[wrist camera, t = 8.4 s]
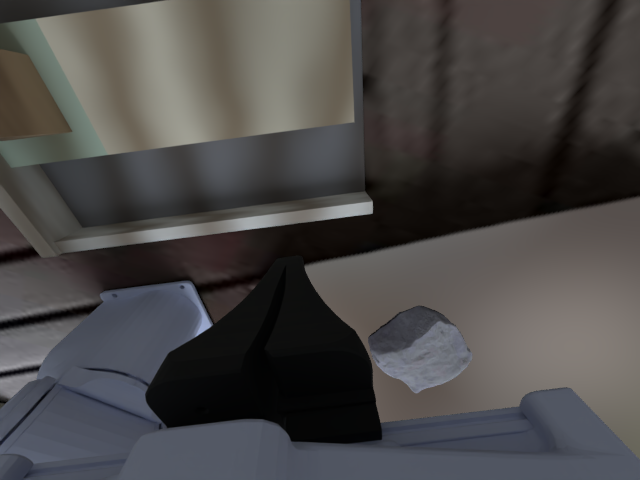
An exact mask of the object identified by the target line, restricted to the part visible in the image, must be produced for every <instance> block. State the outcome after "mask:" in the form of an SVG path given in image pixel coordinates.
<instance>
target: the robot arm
mask: <svg viewBox="0 0 640 480" xmlns="http://www.w3.org/2000/svg"><path fill="white" fill-rule="evenodd" d="M182 285H183V286H184V287H183V286H182ZM100 297H101V299H102V300H103V301H104V302H103V303H102V304H101V305H100V306H99V307H98V308H96V309H95V310H94V311H93V312H92V313H91V314H90V315H89V316H88V317H87V318H86V319H85V320H83V321H82V322H81V323H80V324H79V325H78V326H77V327H76V328H75V329H74V330H73V331H71V332H70V333H69V334H68V335H67V336H66V337H65V338H64V339H63V340H62V341H61V342H60V343H58V344H57V345H56V346H55V347H54V348H53V349H52V350H51V351H50V353H49V354H48V355H47V357H46V358H45V360H44V361H43V363H42V365H41V367H40V370H39V372H38V375H37V380H34V381H31V382H29V383H27V384H26V385H25V386H24V387H23V388H22V389H21V390H20V391H19V392H18V393H17V394H15V395H14V396H13V397H12V398H11V399H10V400H9V401H8V402H7V403H6V404H5V405H4V406H3V407H2V408H1V409H0V480H640V459H639V458H638V457H637V456H636V455H635V454H634V453H633V452H632V451H631V450H630V449H629V448H628V447H627V446H626V445H625V444H624V443H623V442H622V441H621V440H620V439H619V438H618V437H617V436H616V435H615V434H614V432H612V430H611V429H609V427H608V426H607V425H606V424H605V423H604V422H603V421H602V420H601V419H600V418H599V417H598V416H597V415H596V414H595V413H594V412H593V411H592V410H591V409H590V408H589V407H588V406H587V405H586V403H584V401H582V399H581V398H580V397H579V396H578V395H577V394H576V393H575V392H574V391H573V390H572V389H571V388H567V387H566V388H557V389H549V390H540V391H534V392H530V393H528V394H526V395H525V396H524V397H523V398H522V400H521V403H520V406H519V407H511V408H503V409H495V410H487V411H478V412H469V413H460V414H452V415H443V416H435V417H427V418H419V419H410V420H401V421H393V422H384V423H380V419H379V415H378V411H377V407H376V398H375V394H374V390H373V374H372V373H373V370H372V363H371V360H370V358H369V355H368V353H367V351H366V349H365V347H364V345H363V343H362V341H361V340H360V338H359V336H358V335H357V333H356V331H355V330H354V329H352V328H351V327H350V326H348V325H347V324H346V323H345V322H343V321H342V320H341V319H340V318H339V317H338V316H337V315H336V314H335V313H334V312H333V311H332V310H331V309H330V308H329V307H328V306H327V305H326V304H325V303H324V301H323V300H322V299H321V297H320V296H319V295H318V293H317V292H316V290H315V289H314V287H313V285H312V284H311V282H310V280H309V278H308V276H307V274H306V272H305V268H304V262H303V257H301V256H293V257H285V258H278V259H277V260H276V261H275V262H274V264H273V265H272V266H271V268H270V269H269V271H268V272H267V273H266V275H265V276H264V277H263V278H262V280H261V281H260V282H259V283H258V285H257V286H256V287H255V288H254V289H253V290H252V291H251V293H250V294H249V295H248V296H247V297H246V298H245V299H244V300H243V301H242V302H241V303H240V304H238V305H237V306H236V307H235V308H234V309H233V310H232V311H230V312H229V313H228V314H227V315H225V316H224V317H223V318H222V319H220V320H219V321H218V322H217V323H215V324H214V325H213V323H212V321H211V319H210V317H209V315H208V313H207V311H206V309H205V307H204V305H203V303H202V301H201V299H200V297H199V295H198V293H197V291H196V289H195V287H194V285H193V283H192V282H191V281H180V282H172V283H164V284H156V285H148V286H140V287H132V288H124V289H116V290H108V291H103V292H102V293H101V294H100Z"/></svg>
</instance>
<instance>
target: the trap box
mask: <svg viewBox="0 0 640 480" xmlns="http://www.w3.org/2000/svg"><path fill="white" fill-rule="evenodd" d="M0 49H3V50H7V51H12V52H17V53H21V54H26V55H28V56H29V57H30V59H31V61H32V62H33V64H34V66H35V68H36V69H37V71H38V73H39V75H40V76H41V78H42V80H43V81H44V83H45V85H46V87H47V88H48V90H49V92H50V94H51V95H52V97H53V99H54V100H55V102H56V104H57V106H58V107H59V109H60V111H61V113H62V114H63V116H64V118H65V119H66V121H67V123H68V125H69V126H70V128H71V130H72V132H69V133H62V134H54V135H47V136H39V137H32V138H24V139H17V140H7V141H0V208H1V209H2V210H3V212H4V213H5V214H6V215H7V216H8V217H9V219H10V220H11V221H12V222H13V223H14V225H15V226H16V227H17V228H18V229H19V231H20V232H21V233H22V234H23V235H24V236H25V238H26V239H27V240H28V241H29V242H30V244H31V245H32V246H33V247H34V248H35V250H36V251H37V252H38V253H39V254H40V256H41V257H42V258H46V257H54V256H58V255H60V254H62V253H68V252H76V251H84V250H92V249H100V248H107V247H115V246H123V245H131V244H139V243H146V242H154V241H162V240H170V239H178V238H185V237H193V236H201V235H209V234H217V233H224V232H232V231H240V230H248V229H255V228H263V227H271V226H279V225H287V224H294V223H302V222H310V221H318V220H326V219H333V218H341V217H349V216H357V215H365V214H372V213H373V201H372V200H371V199H370V197H369V196H368V195H367V193H366V192H365V170H364V125H363V81H362V36H361V0H0Z"/></svg>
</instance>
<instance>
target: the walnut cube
mask: <svg viewBox="0 0 640 480" xmlns="http://www.w3.org/2000/svg"><path fill="white" fill-rule="evenodd" d="M69 132H72V130H71V128H70V126H69V125H68V123H67V121H66V119H65V118H64V116H63V114H62V113H61V111H60V109H59V107H58V106H57V104H56V102H55V100H54V99H53V97H52V95H51V94H50V92H49V90H48V88H47V87H46V85H45V83H44V81H43V80H42V78H41V76H40V75H39V73H38V71H37V69H36V68H35V66H34V64H33V62H32V61H31V59H30V57H29V56H28V55H26V54H21V53H17V52H12V51H7V50H3V49H0V141H7V140H17V139H24V138H32V137H39V136H47V135H54V134H62V133H69Z"/></svg>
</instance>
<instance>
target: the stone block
mask: <svg viewBox="0 0 640 480" xmlns="http://www.w3.org/2000/svg"><path fill="white" fill-rule="evenodd" d="M368 343H369V346H370V351H371V353H372V357H373V359H374V361H375V363H376V365H377V366H378V367H379V368H381V370H382V371H383V372H385V373H386V374H388V375H390V376H391V377H393V378H398V379H401V380H402V381H403V382H404V383H406V384H407V385H408V386H409V387H410V388H411V390H412V391H413V392H415V393H419V392H420V390H422V389H425V388H429V387H433V386H436V385H439V384H443V383H445V382H447V381H449V380H451V379H452V378H455V377H457V376H458V375H459V374H460V373H461V372H462V371H463V369H465V368H466V367H468V363H469V362H470V361H471V359H472V353H471V351H470V350H469V349H468V347H467V345H466V343H465V341H464V338H463V336H462V335H461V333H460V332H459V330H458V328H457V327H456V326H455V325H454V324H453V323H451V322H450V321H449V320H448V319H447V318H446V317H445V316H444V315H442V314H441V313H439V312H437V311H435V310H432V309H429V308H427V307H424V306H416V307H413V308H411V309H408V310H406V311H403V312H399V313H398V314H397V315H395V317H393V318H392V319H391V320H389V321H388V322H387V323H386V324H384V325H382V326H381V327H380V328H379V329H378V330H376V331H375V332H374V333H372V334H371V335H370V336H369V338H368Z"/></svg>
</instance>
